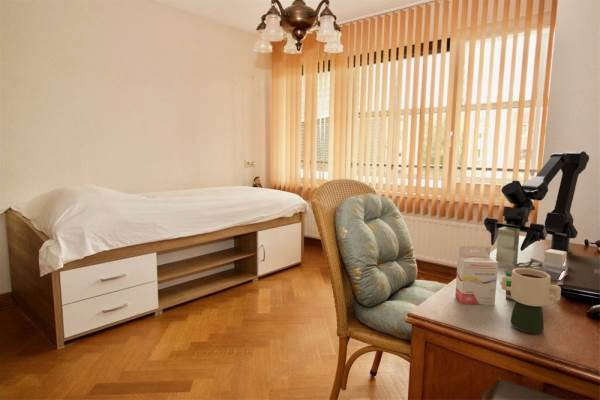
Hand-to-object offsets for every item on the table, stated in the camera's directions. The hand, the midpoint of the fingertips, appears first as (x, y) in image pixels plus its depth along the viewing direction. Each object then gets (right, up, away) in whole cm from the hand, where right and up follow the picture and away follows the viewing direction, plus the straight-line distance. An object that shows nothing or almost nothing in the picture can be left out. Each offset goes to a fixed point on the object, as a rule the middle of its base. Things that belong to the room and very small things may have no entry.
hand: (506, 247), depth 118 cm
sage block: (+1, -6, +2) cm, 7 cm away
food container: (-10, -11, -27) cm, 30 cm away
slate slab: (+9, -8, -7) cm, 14 cm away
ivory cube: (+17, -6, +1) cm, 19 cm away
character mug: (-20, -13, -41) cm, 48 cm away
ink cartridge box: (-25, -11, -27) cm, 38 cm away
